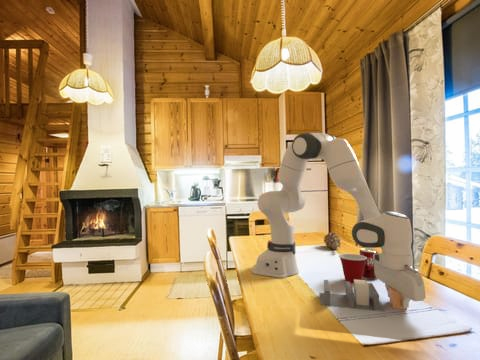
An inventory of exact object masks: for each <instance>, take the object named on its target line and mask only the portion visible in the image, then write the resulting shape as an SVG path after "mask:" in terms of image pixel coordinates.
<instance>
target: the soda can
mask: <svg viewBox="0 0 480 360" xmlns="http://www.w3.org/2000/svg"><path fill="white" fill-rule="evenodd" d="M375 253H379V252H378V251H377V249H376V248H375V249H374V248H365V247H361V248H360V249H359V255H362V256H365V257H367V259H366V261H365V265H364V270H363V277H362V279H366V280H378V279H377V278H376V276H375V274H374V261H375V260H374V258H373V254H375Z"/></svg>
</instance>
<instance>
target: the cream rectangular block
mask: <svg viewBox="0 0 480 360" xmlns="http://www.w3.org/2000/svg"><path fill="white" fill-rule="evenodd" d="M368 283H369V282H368V281H367V279H366V280H364V279H362V280H355V279H354V284H353V292H354V300H355V303H356V304H357V305H368V306H369V285H368Z"/></svg>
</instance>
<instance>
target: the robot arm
mask: <svg viewBox="0 0 480 360" xmlns="http://www.w3.org/2000/svg"><path fill="white" fill-rule="evenodd" d="M292 140H293V141H292V142H290V143H289V144H288V146H287V147H286V150H285V152H284V154H283V157H282V160H281V163H280V166H279V169H278V173H277V180H278V182H279V183H280V184H281V186H282V188H281V190H272V191H267V192H264V193H261V194H260V195H259V197H258V199H257V207H258V210H259V211H260V212H261V214H263V215H264V216H265V218H266V219H267V220H268V223H269V226H270V239H271V240H268V241H267V244H266V248H267V249H266V250H264V251H263V252H261V254H259V255H258V256H257V259H256V263H255V264H254V265H253V266H252V267H251V273H252V274H254V275H259V276H267V277H273V278H279V279H280V278H281V279H283V278H287V277H290V276H291V277H292V276H295V275H297V274H298V273H299V268H298V264H297V260H296V252H297V249H296V247H297V246H296V241H295V227H294V225H293V224H292V222H290V221H288V219H287V216H286V214H288V213H295V212H299V211H300V210H302V209H303V208H304V207H305V204H306V198H305V196H304V194H303V193H302V191H301V190H302V189H301V184H302V181H303V176H304V174H305V170H306V168H307V164H308V161H309V160H319V159H322V160H323V161H324V163H325V165H326V168H327V170H328V174H329V176H330V178H331V180H332V182H333V184H334V185H335V187H337V188H338V189H339V190H343V191H344V192H346V193H348V194H350V195H351V196H352V197H353V199H354V200H355V202H356V204H357V206H358V208H359V210H360V212H361V215H362V216H363V220H360V221H358V222H357V223H355V224H354V225H353V227H352V228H351V236H352V239H353V240H354V242H355V244H357V245H358V246H359V247H361V248H370V249H374V248H375V249H376V248H377V249H378V248H380V249H381V252H378V253H375V254H373V258H374V260H375V261H374V274H375V276H376V278H377V279H376V280H378V281H381V282H382V283H383V284H384V287H385V289H386V292H387V297H388V298H389V299H390V297H389V286H390V287H392V288H393V289H395V290H397V291H398V292H400V293H401V294H402V297H404V298H403V300H400V303H401V304H400V305H401V306H402V307H404V308H407V309H409V306H410V304H409V303H410V301H413V302H424V301H425V299H426V297H427V296H426V287H425V283H424V278H423V277H422V274H421V272H419V270H418V269H416V268H414V266H413V265H414V264H413V263H414V261H413V250H412V242H413V233H412V225H411V220H410V218H409V217H408V216H407V215H405V214H403V213H401V212H397V211H391V210H390V211H383V212H381V210H380V208H379V205H378V204H377V202H376V200H375V198H374V196H373V193H372V191H371V189H370V187H369V186H368V183H367V181H366V178H365V176H364V174H363V171H362V169H361V165H360V163H359V160H358V158H357V156H356V154H355V152H354V149H353V148H352V146H351V145H350V143H349V142H348V141H347V140H346V139H345V138H341V137H336V136H334V135H332V134H330V133H324V132H318V131H316V132H302V133H300V134H297V135H296V136H295V137H294V139H292Z"/></svg>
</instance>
